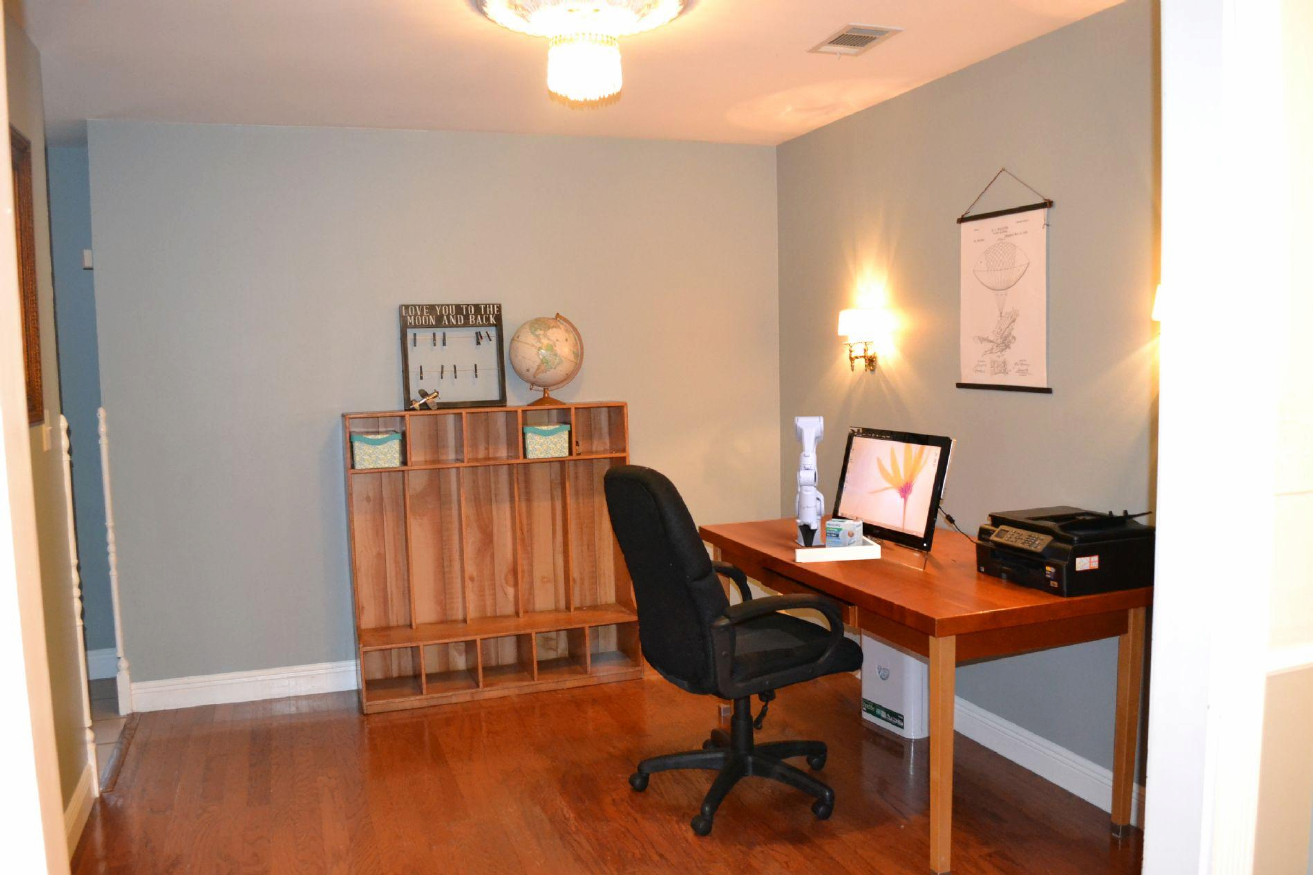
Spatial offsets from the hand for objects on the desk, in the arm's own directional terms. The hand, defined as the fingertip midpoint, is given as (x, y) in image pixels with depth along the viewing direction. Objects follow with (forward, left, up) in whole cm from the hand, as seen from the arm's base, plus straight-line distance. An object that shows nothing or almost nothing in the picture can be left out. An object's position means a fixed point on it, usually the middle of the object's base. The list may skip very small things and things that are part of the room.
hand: (808, 546), depth 331 cm
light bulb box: (+1, +12, -3) cm, 12 cm away
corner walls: (+2, +7, -2) cm, 7 cm away
